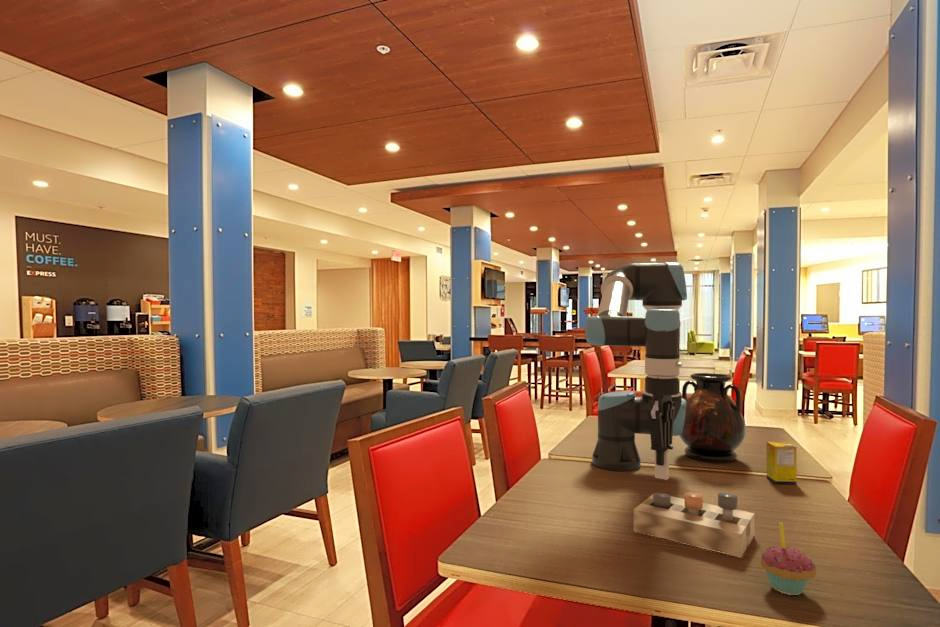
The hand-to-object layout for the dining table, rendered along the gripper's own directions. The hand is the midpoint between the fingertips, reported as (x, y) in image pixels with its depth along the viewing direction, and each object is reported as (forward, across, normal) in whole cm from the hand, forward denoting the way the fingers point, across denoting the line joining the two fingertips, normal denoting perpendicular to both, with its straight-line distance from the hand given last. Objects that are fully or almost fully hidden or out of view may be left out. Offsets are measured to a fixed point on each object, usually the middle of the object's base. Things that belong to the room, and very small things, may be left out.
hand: (661, 477), depth 125 cm
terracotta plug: (+7, -1, -7) cm, 10 cm away
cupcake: (+11, -16, -27) cm, 33 cm away
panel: (+11, -1, -7) cm, 13 cm away
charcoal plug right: (+6, -1, -14) cm, 15 cm away
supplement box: (+12, +54, -17) cm, 58 cm away
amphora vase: (+13, +69, +6) cm, 71 cm away
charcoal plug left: (+9, -1, 0) cm, 9 cm away
